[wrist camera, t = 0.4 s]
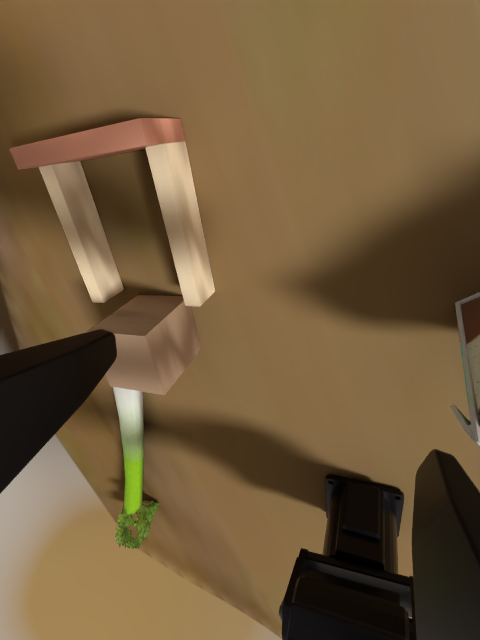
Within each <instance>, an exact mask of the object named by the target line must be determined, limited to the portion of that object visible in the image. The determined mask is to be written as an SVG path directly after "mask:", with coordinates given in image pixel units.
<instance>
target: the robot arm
mask: <svg viewBox="0 0 480 640" xmlns="http://www.w3.org/2000/svg"><path fill="white" fill-rule="evenodd" d="M116 357H117V347H116V338H115V335H114V333H113V332H110V331H107V330H105V329H98V330H94V331H90V332H87V333H83V334H79V335H75V336H71V337H68V338H64V339H60V340H56V341H52V342H49V343H45V344H41V345H37V346H33V347H30V348H26V349H22V350H18V351H14V352H11V353H7V354H3V355H0V493H1V492H2V491H3V490H4V489H5V488H6V487H7V486H8V485H9V484H10V483H11V481H12V480H13V479H14V478H15V477H16V476H17V475H18V474H19V473H20V472H21V470H22V469H23V468H24V467H25V466H26V465H27V464H28V463H29V461H30V460H31V459H32V458H33V457H34V456H35V455H36V454H37V453H38V452H39V451H40V450H41V449H42V447H43V446H44V445H45V444H46V443H47V442H48V441H49V440H50V439H51V438H52V437H53V435H54V434H55V433H56V432H57V431H58V430H59V429H60V428H61V427H62V426H63V425H64V423H65V422H66V421H67V420H68V419H69V418H70V417H71V416H72V415H73V414H74V413H75V411H76V410H77V409H78V408H79V407H80V406H81V405H82V404H83V402H84V401H85V400H86V399H87V398H88V396H89V395H90V394H91V393H92V391H93V390H94V388H95V387H96V386H97V384H98V383H99V382H100V380H101V379H102V378H103V376H104V375H105V374H106V372H107V371H108V370H109V368H110V367H111V366H112V364H113V363H114V362H115V360H116ZM325 489H326V516H327V518H328V520H327V527H326V534H325V541H324V548H323V555H321V554H317V553H313V552H310V551H308V550H307V549H303V548H301V550H300V554H299V557H297V559H296V562H295V565H294V569H293V572H292V575H291V578H290V581H289V584H288V588H287V591H286V594H285V597H284V599H283V601H282V603H281V605H280V609H279V616H280V618H281V620H282V640H480V492H479V490H478V489H477V488H476V486H475V485H474V483H473V482H472V481H471V479H470V478H469V476H468V475H467V474H466V472H465V471H464V469H463V468H462V467H461V465H460V464H459V462H458V461H457V460H456V458H455V457H454V456H452V455H451V454H448V453H445V452H443V451H440V450H437V449H434V450H432V451H431V452H430V453H429V454H428V456H427V457H426V458H425V460H424V461H423V463H422V464H421V465H420V467H419V468H418V470H417V473H416V480H415V495H414V511H413V526H412V560H413V576H410V577H407V576H403V575H399V574H398V555H397V537H398V536H399V530H400V523H401V516H402V510H403V503H404V494H403V492H401V491H399V490H395V489H391V488H386V487H382V486H377V485H373V484H369V483H364V482H360V481H355V480H351V479H346V478H342V477H337V476H333V475H327V476H326V480H325ZM409 616H410V617H412V619H410V618H409Z"/></svg>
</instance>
